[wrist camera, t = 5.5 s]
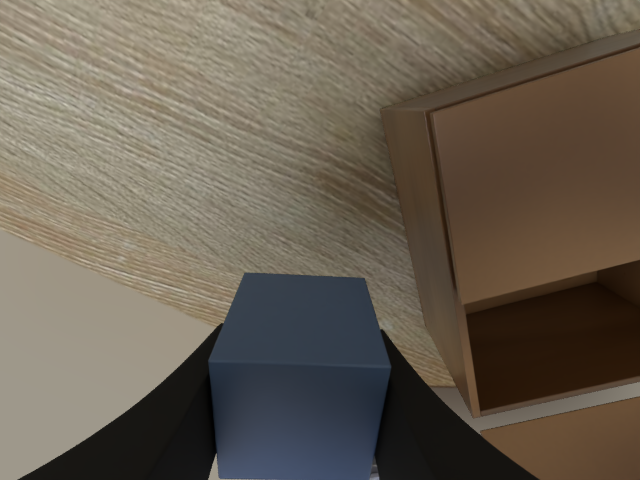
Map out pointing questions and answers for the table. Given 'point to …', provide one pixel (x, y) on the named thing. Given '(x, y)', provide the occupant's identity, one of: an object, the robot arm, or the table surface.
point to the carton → (528, 223)
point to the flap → (576, 443)
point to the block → (298, 379)
